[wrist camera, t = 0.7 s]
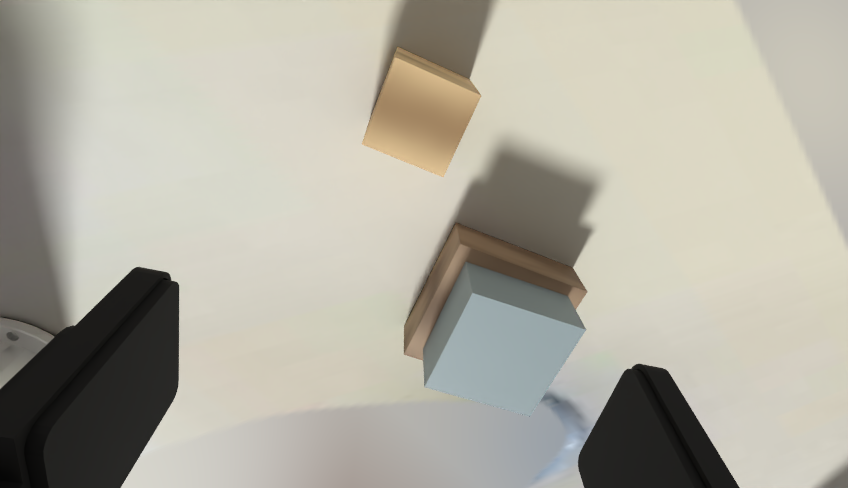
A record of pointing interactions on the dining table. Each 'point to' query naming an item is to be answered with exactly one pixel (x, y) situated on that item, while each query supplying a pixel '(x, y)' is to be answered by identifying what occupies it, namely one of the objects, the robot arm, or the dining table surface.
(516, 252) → the walnut slab
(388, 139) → the oak block
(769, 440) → the dining table surface
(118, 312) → the robot arm
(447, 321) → the slate-grey block
